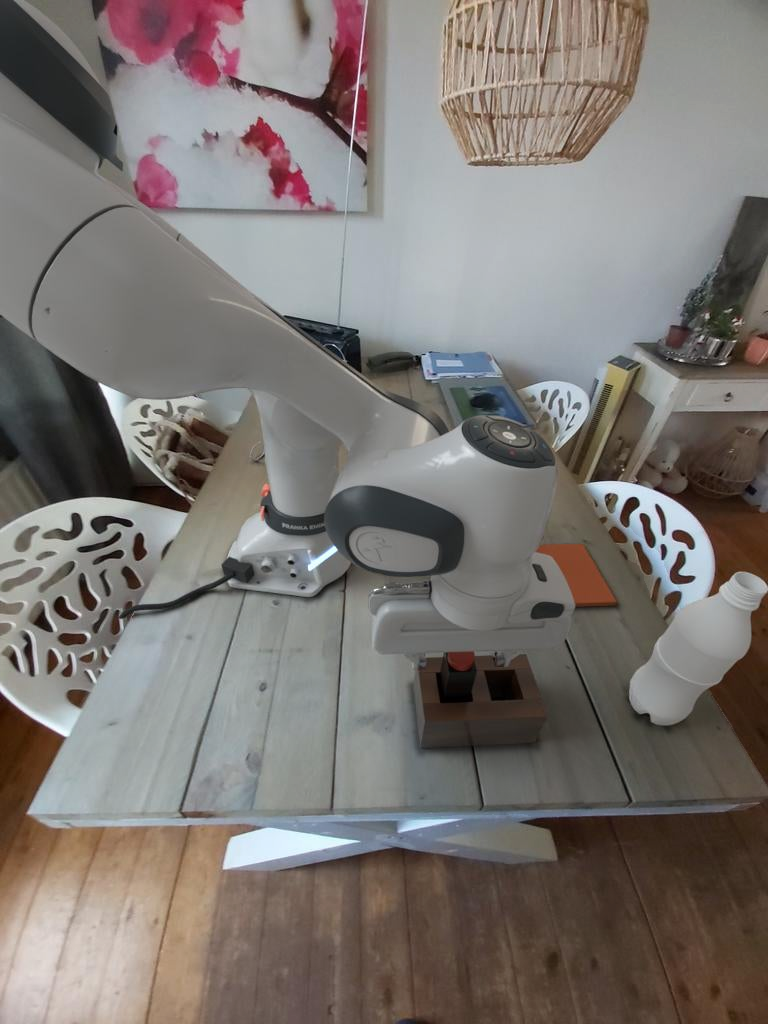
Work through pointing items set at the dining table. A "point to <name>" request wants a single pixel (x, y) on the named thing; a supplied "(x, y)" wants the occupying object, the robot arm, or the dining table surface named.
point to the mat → (580, 574)
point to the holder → (480, 706)
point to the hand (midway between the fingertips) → (459, 662)
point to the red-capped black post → (456, 677)
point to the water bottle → (697, 650)
